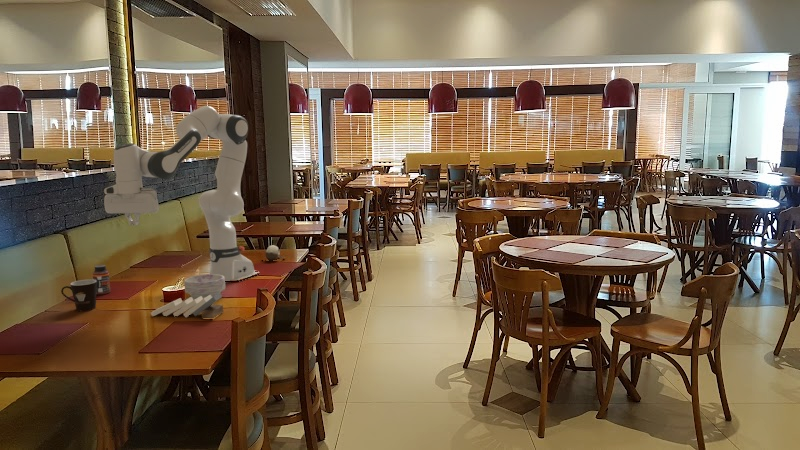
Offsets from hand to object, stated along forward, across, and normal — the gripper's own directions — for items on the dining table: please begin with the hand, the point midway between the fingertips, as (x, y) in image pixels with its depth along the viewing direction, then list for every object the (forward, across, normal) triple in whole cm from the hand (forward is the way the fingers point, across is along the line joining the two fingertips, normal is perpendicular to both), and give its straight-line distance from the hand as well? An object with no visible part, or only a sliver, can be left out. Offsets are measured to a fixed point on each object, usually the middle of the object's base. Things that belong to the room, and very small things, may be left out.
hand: (134, 224), depth 224 cm
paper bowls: (+31, -21, -10) cm, 39 cm away
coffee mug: (+30, +18, +9) cm, 36 cm away
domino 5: (+29, -29, +13) cm, 43 cm away
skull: (+32, -22, -78) cm, 88 cm away
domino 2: (+30, -18, +13) cm, 37 cm away
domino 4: (+30, -26, +13) cm, 42 cm away
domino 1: (+30, -13, +13) cm, 35 cm away
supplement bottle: (+30, +25, -11) cm, 41 cm away
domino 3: (+30, -22, +13) cm, 39 cm away
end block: (+31, -35, +13) cm, 48 cm away
